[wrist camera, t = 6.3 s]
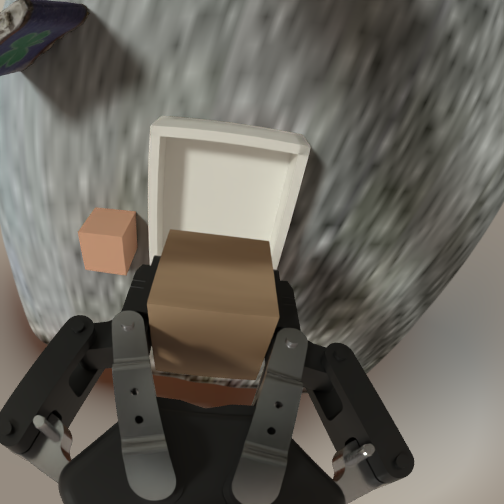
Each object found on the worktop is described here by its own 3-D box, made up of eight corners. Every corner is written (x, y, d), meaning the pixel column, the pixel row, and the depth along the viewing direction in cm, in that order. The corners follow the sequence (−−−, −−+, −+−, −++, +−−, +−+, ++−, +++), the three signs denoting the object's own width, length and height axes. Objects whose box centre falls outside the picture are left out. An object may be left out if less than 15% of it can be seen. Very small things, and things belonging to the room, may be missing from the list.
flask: (20, 75, 18) (-59, 104, 9) (12, 53, 16) (-67, 75, 8) (93, 18, 16) (16, 13, 8) (83, -5, 15) (6, -18, 6)
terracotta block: (95, 207, 28) (77, 231, 24) (135, 211, 28) (122, 237, 25) (100, 242, 30) (85, 269, 27) (137, 247, 31) (126, 275, 27)
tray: (161, 115, 23) (150, 125, 20) (302, 134, 24) (311, 146, 21) (157, 256, 32) (150, 278, 29) (267, 268, 33) (270, 291, 30)
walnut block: (169, 229, 13) (147, 303, 10) (269, 241, 14) (279, 317, 10) (169, 298, 16) (155, 370, 12) (252, 308, 16) (255, 379, 13)
